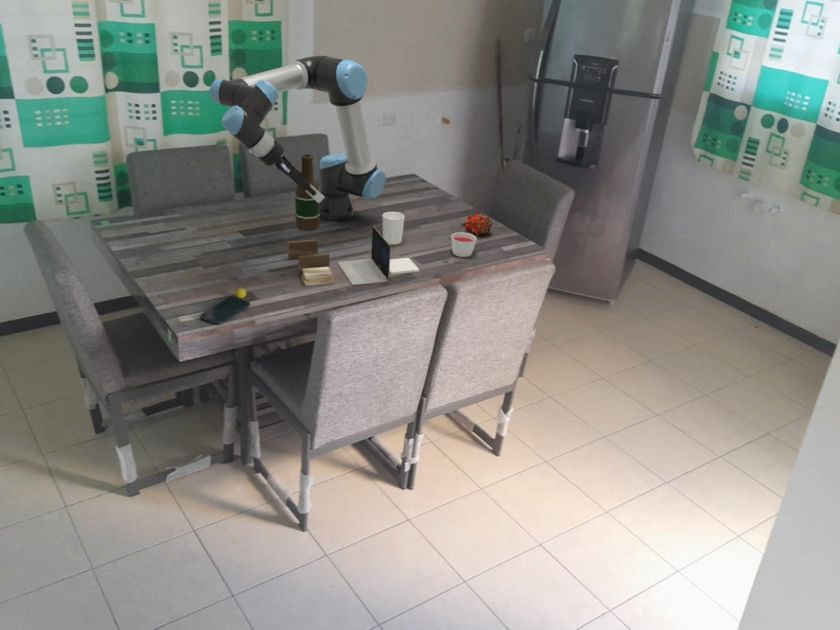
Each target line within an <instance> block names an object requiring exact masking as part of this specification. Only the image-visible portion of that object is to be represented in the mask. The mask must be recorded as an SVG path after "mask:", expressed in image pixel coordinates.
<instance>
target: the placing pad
mask: <svg viewBox="0 0 840 630" xmlns="http://www.w3.org/2000/svg"><path fill="white" fill-rule="evenodd" d="M419 272H420V269H419V267H418V266H417V265H416V264H415V263H414V262H413V261H412V260H411V258H409V257H404V258H403V257H401V258H392V259H391V258H390V270H389V275H401V274H410V273H419Z"/></svg>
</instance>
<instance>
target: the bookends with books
mask: <svg viewBox="0 0 840 630" xmlns="http://www.w3.org/2000/svg"><path fill="white" fill-rule="evenodd" d="M318 247H319V240H318V239H306V240H305V239H304V240H294V241H293V240H292V241H287V252H288V253H287V254H288V255H287V259H288V260H296V259H297V260H298V261H297V262H298V266H297V267H298V278H301V280H302V282H303V284H304V286H305V287H312V286H313V287H314V286H322V285H329V284H330V285H332V284H334V282H335V281H334V278H335V276H334V274H333V273H332V270H331V269H330V254H329V253H320V254H319V250H318V249H319V248H318Z"/></svg>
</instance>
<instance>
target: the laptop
mask: <svg viewBox="0 0 840 630" xmlns="http://www.w3.org/2000/svg"><path fill="white" fill-rule="evenodd" d="M371 232H372V233H371V234H372V235H371V236H372V237H371V257H370V258H366V259H364V258H363V259H355V260H345V261H338V262H337V264H338V266H339V267H340V269H341V270H342V271H343V273H344V275H345V276H346V278H347V279H348V280H349V281H348V282H350V283H351V285H352V286H360V285H361V286H362V285H371V284H373V285H374V284H384V283H389V281H390V272H389V270H390V260H391V249H392V247H391V244H388V242H387V241H386V240H385V239H384V238H383V234H381V233H380V231H379V230H378V229H377V228H376V227H375V226H374V225H373V226H372V231H371Z"/></svg>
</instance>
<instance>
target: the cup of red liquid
mask: <svg viewBox="0 0 840 630" xmlns="http://www.w3.org/2000/svg"><path fill="white" fill-rule="evenodd" d="M450 238H451V248H452V249H451V250H452V254H453V255H454V256H457V257H460V258H466V257H467V258H469V257H470V256H472V255H473V252H474V248H475V246H476V242H477V236H476V235H474V233H473V234H471V233H468V232H465V231H464V232H463V231H462V232H461V231H459V232H455V233H452V234H451V236H450Z"/></svg>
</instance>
